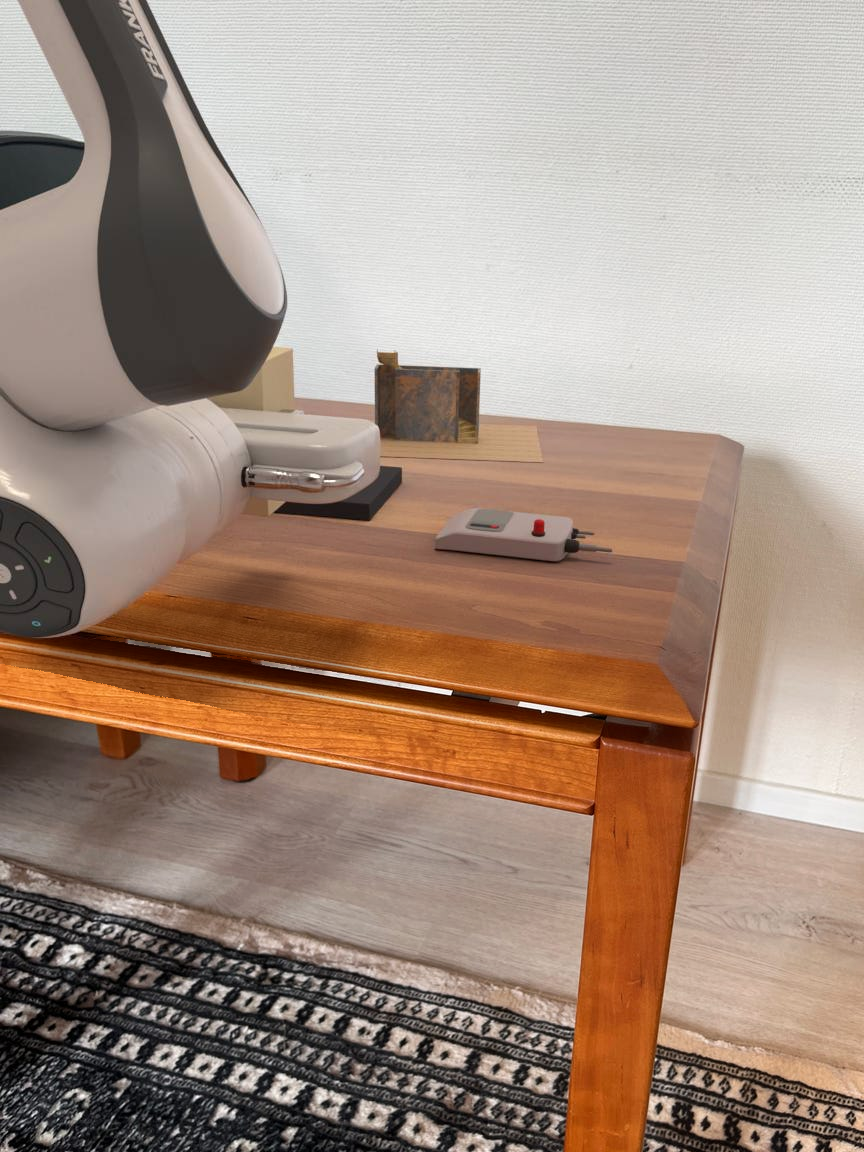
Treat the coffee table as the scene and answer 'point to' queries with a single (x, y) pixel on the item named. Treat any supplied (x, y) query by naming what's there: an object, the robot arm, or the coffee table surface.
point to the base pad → (353, 499)
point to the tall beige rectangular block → (265, 405)
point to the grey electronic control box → (513, 535)
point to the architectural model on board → (442, 416)
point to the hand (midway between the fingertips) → (256, 418)
